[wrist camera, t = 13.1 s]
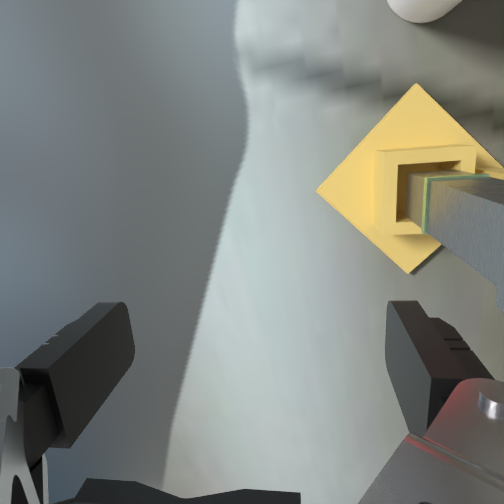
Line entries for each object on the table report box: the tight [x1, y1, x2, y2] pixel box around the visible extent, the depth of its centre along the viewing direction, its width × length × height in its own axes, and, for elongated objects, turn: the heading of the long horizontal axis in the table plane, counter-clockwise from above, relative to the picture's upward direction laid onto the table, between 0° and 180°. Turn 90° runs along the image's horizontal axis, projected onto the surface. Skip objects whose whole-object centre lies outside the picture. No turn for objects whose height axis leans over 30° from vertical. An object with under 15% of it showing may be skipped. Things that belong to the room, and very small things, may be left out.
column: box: [405, 169, 504, 312], centre depth 24 cm, size 6×5×19 cm
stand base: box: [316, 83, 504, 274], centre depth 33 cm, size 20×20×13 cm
